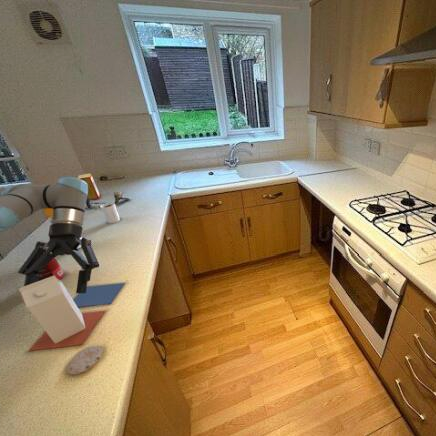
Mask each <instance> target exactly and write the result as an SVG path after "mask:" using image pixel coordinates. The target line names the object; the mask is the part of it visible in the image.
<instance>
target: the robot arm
mask: <svg viewBox="0 0 436 436" xmlns="http://www.w3.org/2000/svg"><path fill="white" fill-rule="evenodd" d="M87 196H88V184H87V183H86V182H85V181H83V180H81V179H78V177H73V176H63V177H60V178H59V179H58V180H57V182H56V184H26V183H20V184H10V185H7V186H5V187H4V188H3V190H2V191H1V193H0V234H2V233H4V232H6V231H8V230H10V229H13V228H14V227H16V226H17V225H18V224H19V223H20V222H22V221H23V220H25V219H27V218H28V217H30V216H32V215H33V214H35V213H36V212H38V211H39V210H43V209H53V212H52V217H50V225H49V228H48V235H47V236H48V237H49V240H48V241H45V242H43V241H39V240H38V241H36V243H35V246H34V249H33V250H32V251H31V252H30V254H29V255H28V256H29V257H28V256H27V257H28V259H27V260H26V261H25V263H24V262H23V264H22V266H21V267H20V268H19V269H18V271H17V274H19V275H24V276H25V278H24V284H23V287H24V286H27V285H30V284H32V283H35V282H38V281H39V277H40V276H38V273H39V272H40V271H41V270H42V269H43V268H44V267H45V266H46V265H47V264H48V263H49V262H50V261H51V260H52V259H53V258H55V259H56V258H57V257H58V256H59V257H60V256H61V257H62V256H65V255H66V256H71V257H72V259H73V260H75V262H76V263H77V264H78V265H79V266H80V268H81V269H79V270H78V276H77V283H76V290H75V294H79V293H86V289H87V287H88V282H90V280H91V276H92V270H94V269H96V268H99V267H100V263H99V261H98V258H97V256H96V253H95V252H94V249H93V247H92V239H90V238H87V237H82V236H83V229H84V227H83V226H84V221H85V213H86V207H87V205H86V201H87ZM81 237H82V239H81V240H80V238H81ZM79 245H81V249H82V251H83V253H82V252H81V250H80V248H79V249H78V248H77V247H78V246H79ZM51 252H52V253H51ZM83 254H84V255H83ZM84 256H85V257H84Z"/></svg>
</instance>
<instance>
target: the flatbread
mask: <svg viewBox="0 0 436 436" xmlns="http://www.w3.org/2000/svg"><path fill="white" fill-rule="evenodd" d="M103 352H104V346H103V345H89V346H87V347H85V348H84V349H81V350H80V351H78V352H77V353H76V354H75V355H74V356H73V357H72V358H70V359H69V361H68V362H67V364H66V366H65V372H66V373H67V374H69V375H72V376H76V375H79V374H83V373H85V372H87V371H89V370H90V369H91V368H92V367H93V366H94V365H96V364H97V362H99V360H100V359H101V357H102V355H103Z"/></svg>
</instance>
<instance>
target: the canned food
mask: <svg viewBox="0 0 436 436" xmlns="http://www.w3.org/2000/svg"><path fill="white" fill-rule="evenodd" d="M51 253H52V252H51ZM29 256H30V255H28V256H27V257H25V258H24V260H23V264H24V263H25V261H26V260H27V259H28V257H29ZM54 275H55V277H56V278H57V279H59V280H61V281H62V279H63V278H64V277H65V271H64V270H63V268H62V267H61V265H60V263H59V261H58V260H57V258H56V257H55V258H53V259H52V260H51V261H50V262H49V263H48V264H47V265H46V266H45V267H44V268H43V269H42V270H41V271H40V272H39V273H38V276H40V277H39V281H41V280H43V279H46V278H49V277H51V276H54Z"/></svg>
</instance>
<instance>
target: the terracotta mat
mask: <svg viewBox="0 0 436 436" xmlns="http://www.w3.org/2000/svg"><path fill="white" fill-rule="evenodd" d="M105 313H106V310H97V311H88V312H81V314H82V316H83V320H84V324H85V329H84V330H82V331H80V332H78V333H76V334H74V335H72V336H70V337H68V338H66V339H64V340H62V341H60V342H58V343H56V344H55V343H54V342H53V340H52V339H51V338H50V336H49V335H48V334H47V333H46V331H45V330H44V332H43V333H42V334H41V336H40V337H39V338H38V339H37V340H36V341H35V342H34V344H33V345H32V346H31V347H30V348H29V349H28V352H37V351H45V350H53V349H62V348H69V347H78V346H83V345H84V343H85V342H86V341H87V339H88V338H89V336H90V335H91V333H92V332H93V330H94V329H95V328H96V326H97V325H98V324H99V322H100V321H101V320H102V318H103V316H104V315H105Z"/></svg>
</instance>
